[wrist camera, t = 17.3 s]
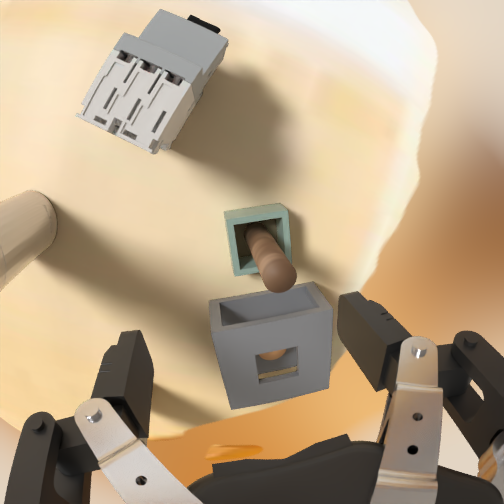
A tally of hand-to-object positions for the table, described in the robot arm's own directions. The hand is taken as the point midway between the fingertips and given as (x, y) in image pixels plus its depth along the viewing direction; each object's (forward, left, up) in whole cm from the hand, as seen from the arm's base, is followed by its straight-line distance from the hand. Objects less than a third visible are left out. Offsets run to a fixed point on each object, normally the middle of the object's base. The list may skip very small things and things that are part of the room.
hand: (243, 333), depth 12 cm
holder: (+5, -6, -29) cm, 30 cm away
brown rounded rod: (+5, -6, -29) cm, 30 cm away
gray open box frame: (+5, -23, -29) cm, 38 cm away
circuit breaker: (-3, +15, -30) cm, 33 cm away
